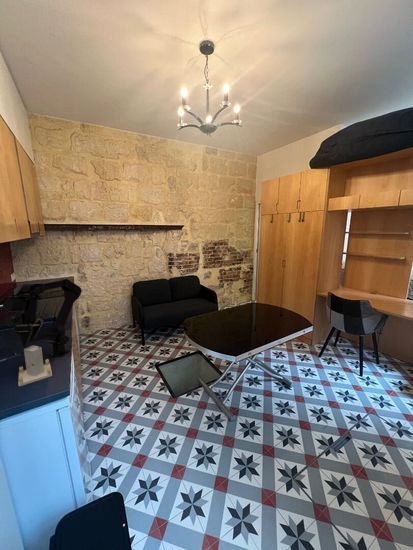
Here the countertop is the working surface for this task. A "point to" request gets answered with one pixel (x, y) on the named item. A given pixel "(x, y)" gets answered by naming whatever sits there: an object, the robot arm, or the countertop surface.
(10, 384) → the countertop surface
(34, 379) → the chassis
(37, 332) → the robot arm
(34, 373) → the skincare box
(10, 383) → the countertop surface
